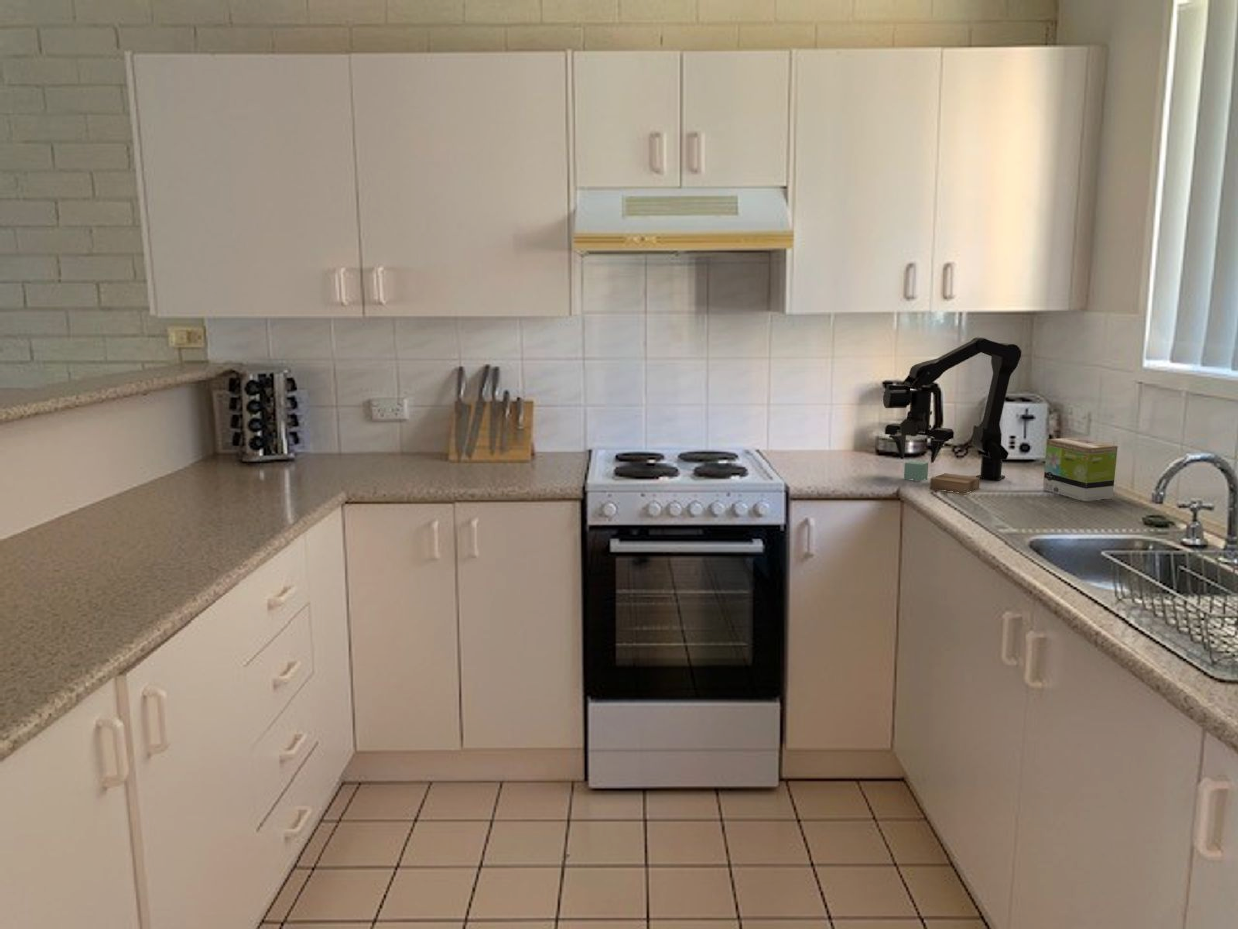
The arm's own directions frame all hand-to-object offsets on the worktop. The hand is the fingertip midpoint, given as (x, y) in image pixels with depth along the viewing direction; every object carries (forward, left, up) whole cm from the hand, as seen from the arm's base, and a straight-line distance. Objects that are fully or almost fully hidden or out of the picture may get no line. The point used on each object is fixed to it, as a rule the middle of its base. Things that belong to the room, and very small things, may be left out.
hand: (917, 460), depth 270 cm
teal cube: (0, 0, -6) cm, 6 cm away
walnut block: (+6, +14, -6) cm, 16 cm away
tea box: (-8, +42, -6) cm, 43 cm away
